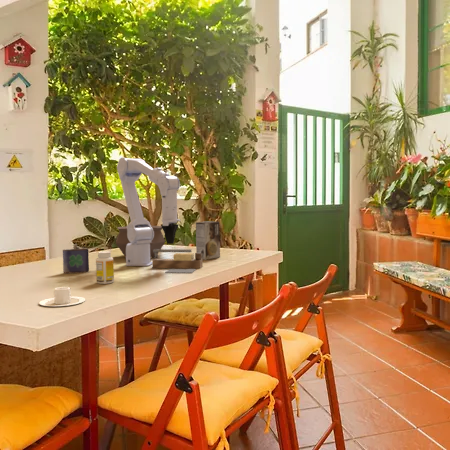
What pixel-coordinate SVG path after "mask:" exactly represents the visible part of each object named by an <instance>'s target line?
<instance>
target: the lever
mask: <svg viewBox="0 0 450 450" xmlns="http://www.w3.org/2000/svg"><path fill="white" fill-rule="evenodd" d="M153 252H154V253H155V257H154V259H159V253H192V249H190V248H189V249H186V248H185V249H182V248H181V249H180V248H179V249H178V248H177V249H175V248H174V249H173V248H172V249H166V248H164V249H163V248H161V249H153ZM158 252H159V253H158Z"/></svg>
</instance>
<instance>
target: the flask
mask: <svg viewBox="0 0 450 450" xmlns="http://www.w3.org/2000/svg"><path fill="white" fill-rule="evenodd" d="M77 245H78V244H77V243H75V244H73V247H72V248H64V249H62V267H63V268H62V269H63V271H62V272H63V274H78V273H79V274H80V273H82V274H83V273H89V272H90V264H89V263H90V260H89V258H90V257H89V248H87V247H84V246H77Z"/></svg>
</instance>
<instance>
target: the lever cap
mask: <svg viewBox="0 0 450 450" xmlns="http://www.w3.org/2000/svg"><path fill="white" fill-rule="evenodd" d="M172 258H173V259H174V261H191V260H193V259H195V254H194V253H192V252H175V254H173V257H172Z"/></svg>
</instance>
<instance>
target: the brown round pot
mask: <svg viewBox="0 0 450 450" xmlns="http://www.w3.org/2000/svg"><path fill="white" fill-rule="evenodd" d="M146 220H147V221H149V220H148V219H146ZM127 226H128V225H126V226H118V227H117V230H118V231H119V232H118V235H117V236H116V240H115V244H116V246H117V247H118V248H119V250H120V251H121V253H122V254H123V255H124V257H125V258H126V246H127V244H128V243H130V241H129V240H128V237H127ZM151 227H152V228H153V231H154V238H153V240H151V243H150V259H151V257H152V258H155V253H154V252H153V249H163V246H164V244H165V243H167V241H166V238H165V237H164V235H163V233H162V231H163V229H162V227H161V225H151ZM159 253H160V252H158V254H159Z"/></svg>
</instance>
